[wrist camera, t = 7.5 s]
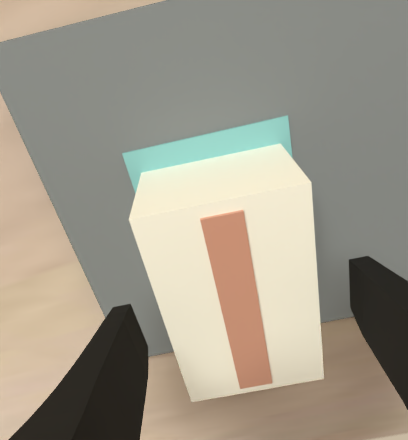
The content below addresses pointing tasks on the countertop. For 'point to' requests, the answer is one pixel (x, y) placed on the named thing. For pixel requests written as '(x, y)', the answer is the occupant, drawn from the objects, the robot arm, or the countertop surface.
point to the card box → (234, 269)
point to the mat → (219, 124)
